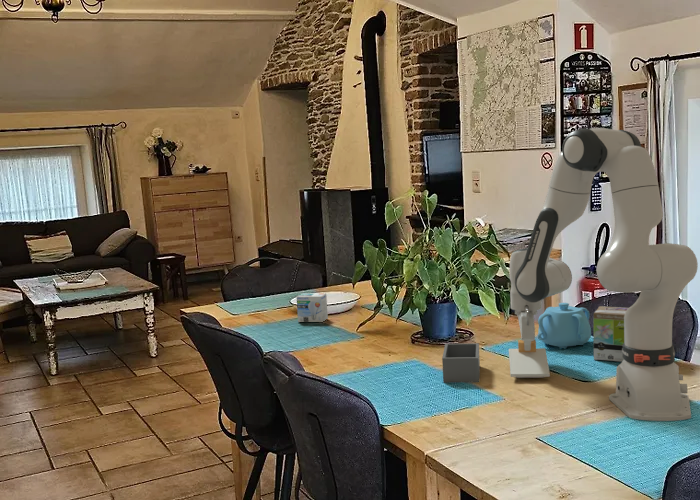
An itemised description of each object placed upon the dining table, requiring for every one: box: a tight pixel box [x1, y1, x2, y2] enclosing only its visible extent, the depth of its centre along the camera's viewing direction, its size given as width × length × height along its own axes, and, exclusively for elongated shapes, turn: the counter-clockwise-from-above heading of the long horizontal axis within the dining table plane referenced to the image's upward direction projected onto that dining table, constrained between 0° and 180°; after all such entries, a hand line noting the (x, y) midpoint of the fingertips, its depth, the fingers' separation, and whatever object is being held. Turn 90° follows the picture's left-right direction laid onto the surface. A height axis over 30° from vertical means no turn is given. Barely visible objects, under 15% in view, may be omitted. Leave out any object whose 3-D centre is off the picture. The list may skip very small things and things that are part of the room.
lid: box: [508, 339, 551, 379], centre depth 220 cm, size 17×11×5 cm, turn 170°
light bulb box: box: [296, 292, 329, 323], centre depth 305 cm, size 11×7×11 cm, turn 73°
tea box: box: [592, 305, 629, 363], centre depth 228 cm, size 15×10×15 cm
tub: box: [441, 342, 481, 384], centre depth 223 cm, size 16×10×7 cm, turn 170°
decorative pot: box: [537, 302, 592, 349], centre depth 248 cm, size 16×16×14 cm
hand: (527, 348), depth 226 cm, fingers closed on lid, 2 cm apart
